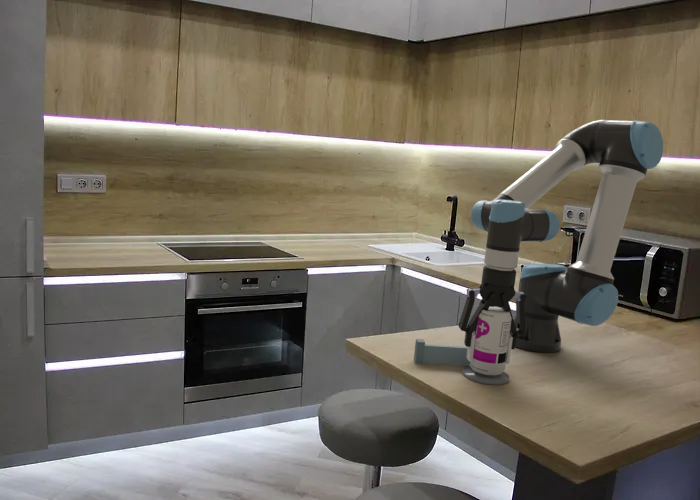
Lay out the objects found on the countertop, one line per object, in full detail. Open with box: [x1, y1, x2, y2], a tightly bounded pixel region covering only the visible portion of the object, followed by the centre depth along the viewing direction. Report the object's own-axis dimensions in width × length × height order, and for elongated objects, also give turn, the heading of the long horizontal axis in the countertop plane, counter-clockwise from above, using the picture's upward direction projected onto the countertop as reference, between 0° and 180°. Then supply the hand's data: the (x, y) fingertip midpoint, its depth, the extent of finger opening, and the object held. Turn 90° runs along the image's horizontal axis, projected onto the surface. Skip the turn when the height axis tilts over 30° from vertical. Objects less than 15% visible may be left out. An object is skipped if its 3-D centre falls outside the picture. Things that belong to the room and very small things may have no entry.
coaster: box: [461, 366, 510, 386], centre depth 153 cm, size 11×11×1 cm
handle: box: [413, 338, 470, 367], centre depth 159 cm, size 20×2×6 cm, turn 95°
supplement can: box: [469, 306, 513, 375], centre depth 151 cm, size 8×8×15 cm
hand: (487, 360), depth 152 cm, fingers closed on supplement can, 8 cm apart
